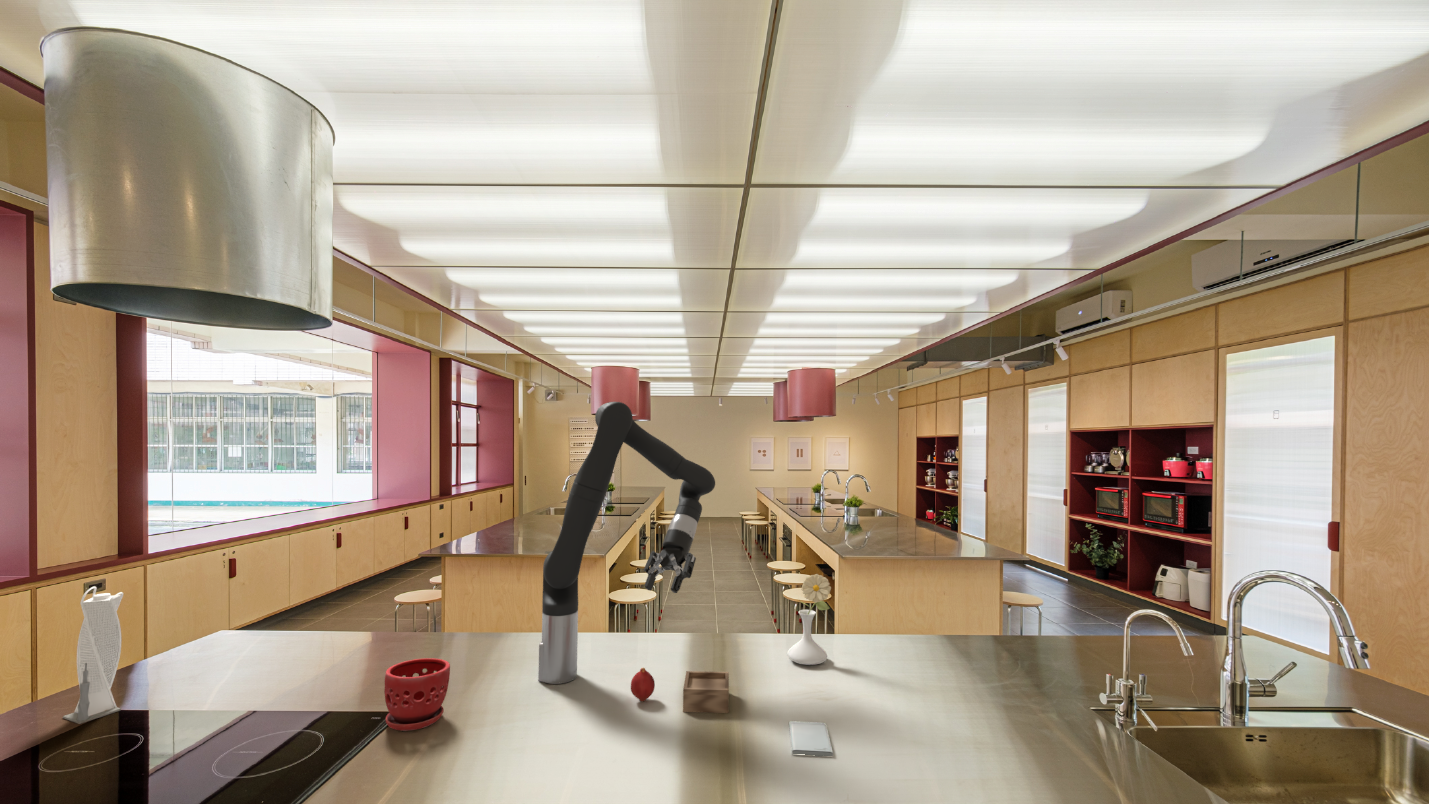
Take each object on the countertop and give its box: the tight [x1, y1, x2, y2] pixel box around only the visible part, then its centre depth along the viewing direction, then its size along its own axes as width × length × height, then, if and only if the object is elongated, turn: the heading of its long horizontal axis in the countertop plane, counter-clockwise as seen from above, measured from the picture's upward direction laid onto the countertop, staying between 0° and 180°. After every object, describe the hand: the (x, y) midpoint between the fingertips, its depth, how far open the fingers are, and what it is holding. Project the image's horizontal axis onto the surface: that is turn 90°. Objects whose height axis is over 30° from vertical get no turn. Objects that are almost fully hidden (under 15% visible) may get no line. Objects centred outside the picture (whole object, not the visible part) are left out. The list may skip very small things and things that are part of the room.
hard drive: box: [788, 720, 834, 757], centre depth 127 cm, size 2×8×12 cm
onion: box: [630, 667, 655, 703], centre depth 145 cm, size 6×6×8 cm
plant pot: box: [383, 657, 451, 732], centre depth 135 cm, size 13×13×12 cm
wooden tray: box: [682, 670, 730, 714], centre depth 145 cm, size 11×11×5 cm
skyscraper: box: [62, 585, 124, 725], centre depth 138 cm, size 8×8×28 cm
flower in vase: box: [786, 573, 832, 666], centre depth 172 cm, size 13×11×25 cm
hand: (660, 590), depth 156 cm, fingers open, 8 cm apart
